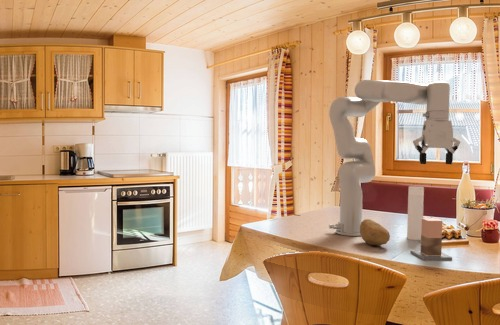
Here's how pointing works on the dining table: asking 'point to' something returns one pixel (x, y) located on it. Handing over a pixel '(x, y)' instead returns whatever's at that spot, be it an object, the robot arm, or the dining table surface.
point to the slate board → (430, 256)
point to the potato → (373, 233)
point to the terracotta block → (431, 228)
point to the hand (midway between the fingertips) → (435, 164)
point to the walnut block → (431, 245)
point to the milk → (415, 212)
